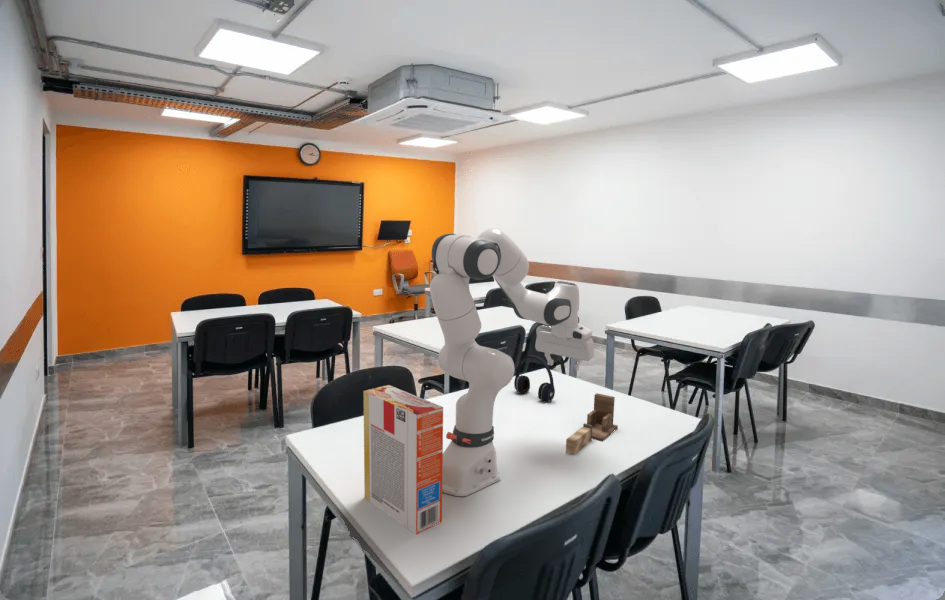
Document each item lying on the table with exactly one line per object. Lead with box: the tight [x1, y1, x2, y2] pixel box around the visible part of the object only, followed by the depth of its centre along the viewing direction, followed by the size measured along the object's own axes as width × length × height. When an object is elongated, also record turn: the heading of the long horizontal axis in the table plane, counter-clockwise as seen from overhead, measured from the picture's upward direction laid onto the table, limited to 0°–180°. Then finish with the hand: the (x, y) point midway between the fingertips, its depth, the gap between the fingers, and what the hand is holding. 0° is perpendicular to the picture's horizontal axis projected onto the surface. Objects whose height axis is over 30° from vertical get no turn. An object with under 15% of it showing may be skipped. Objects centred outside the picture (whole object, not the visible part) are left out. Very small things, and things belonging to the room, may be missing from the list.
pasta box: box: [363, 384, 444, 535], centre depth 134 cm, size 23×8×30 cm, turn 44°
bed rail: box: [565, 423, 593, 455], centre depth 177 cm, size 15×3×5 cm, turn 145°
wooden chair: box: [575, 392, 619, 442], centre depth 189 cm, size 15×10×12 cm, turn 145°
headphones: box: [513, 354, 556, 402], centre depth 226 cm, size 20×7×18 cm, turn 42°
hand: (563, 367), depth 177 cm, fingers open, 8 cm apart
